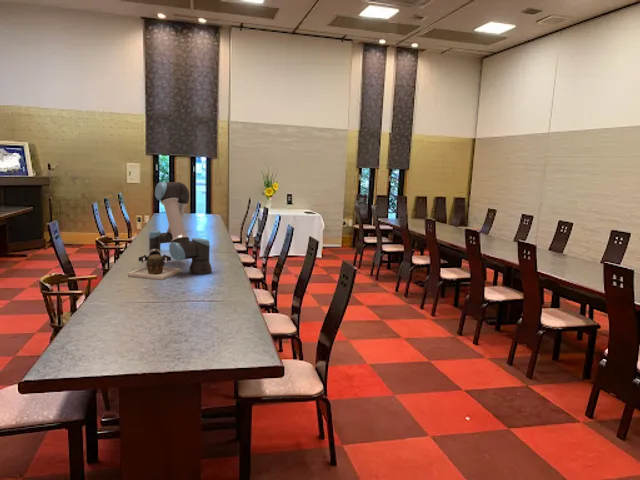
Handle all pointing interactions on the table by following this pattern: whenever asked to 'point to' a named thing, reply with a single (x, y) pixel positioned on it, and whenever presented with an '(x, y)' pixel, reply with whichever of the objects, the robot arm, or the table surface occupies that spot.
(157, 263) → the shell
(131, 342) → the table surface
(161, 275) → the tray
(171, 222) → the robot arm
